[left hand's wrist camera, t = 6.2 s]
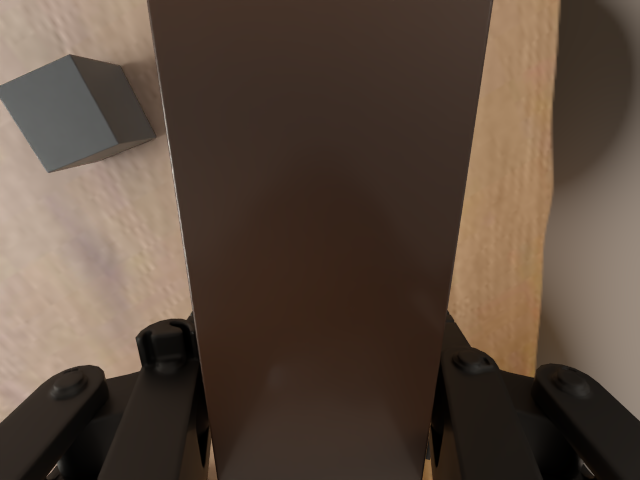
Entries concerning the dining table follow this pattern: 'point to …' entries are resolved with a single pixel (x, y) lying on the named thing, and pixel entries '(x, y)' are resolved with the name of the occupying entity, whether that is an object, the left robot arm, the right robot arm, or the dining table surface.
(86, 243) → the dining table surface
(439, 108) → the walnut block
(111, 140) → the grey cube
